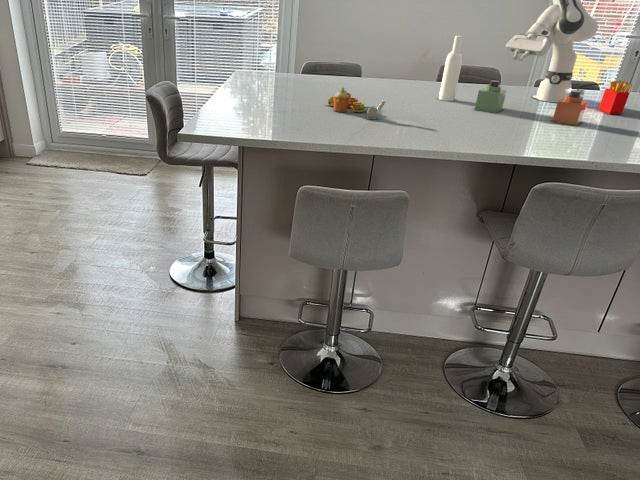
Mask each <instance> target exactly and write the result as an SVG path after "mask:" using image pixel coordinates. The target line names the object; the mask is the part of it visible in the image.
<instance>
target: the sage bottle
mask: <svg viewBox="0 0 640 480" xmlns="http://www.w3.org/2000/svg"><path fill="white" fill-rule="evenodd" d="M489 85H490V84H486V85H485V87H484V88H481V89H478V93H477V97H476V101H475V106H474V108H473V109H474V111H479V112H486V113H491V114H496V113H499V112H500V111H502V110H503V107H504V103H505V99H506V96H507V89H502V88H503V86H502V85H499V86H498V87H492V86H489Z"/></svg>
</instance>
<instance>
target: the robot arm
mask: <svg viewBox="0 0 640 480" xmlns="http://www.w3.org/2000/svg"><path fill="white" fill-rule="evenodd" d="M598 24H599V23H598V21H597V20H596V19H595V18H593V16H591V15H590V14H589V13H588V11H587V10H586V8H585V7H584V5H583V3H582V0H552V4H551V5H550V6H548V7H547V8H546V9H545V10H543V12H542V13H541V14H540V15H539V16H538V18H537V20H536V22H535V23H533V24H532V25H531V26H530V28H528V30H527V32H526V33H518V34H516V35H514V36H513V37H512V38H510V40H508V42H507V43H506V44H505V49H506V51H507V52H509V53H514V55H513V56H512V60H513V61H517V60H518V61H520V62H522V61H523V60H525V59H526V58H528V57H529V56H535V57H536V56H537V57H544V56H545V55H547V53H548V52H549V51H550V50H551V46H552V54H551V59H550V63H549V67H548V69H547V70H546V73H545V78H544V79H543V80H542V81H540V83H539V87H538V89H537V93H536V94H533V95H532V98H534V99H537V100H539V101H543V102H548V103H558V101H559V100H561V99H563V98H565V96H566V95H570V93H571V91H572V87H573V84H572V81H571V80H572V77H573V74H574V72H573V71H574V68H575V64H576V62H577V59H578V58H577V57H578V55H577V53H576V52H575V51H574V43H575V42H577V43H579V42H584V41H588V40H590V39H592V38H593V37H595V35H596V34H597V32H598V28H599V25H598ZM520 54H521V55H520ZM600 85H605V83H604V82H602V83H589V84H583V85H581V86H578V88H577V89H576V91H580V89H581V88H584V87H585V88H586V87H589V86H600Z"/></svg>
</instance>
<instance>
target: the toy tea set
mask: <svg viewBox="0 0 640 480" xmlns="http://www.w3.org/2000/svg"><path fill="white" fill-rule="evenodd" d="M326 105H327V106H330V107H333V111H334V112H337V113H345V112H347V110H348V109H350V111H352V112H354V113H363V112H365V110H366V109H367V105H365V103H364V102H362V101H360V102H359V99H358V98H357V97H352V93H351V92H348V91H347V90H345V87H341V89H340V90H338V91H337V92H336V94H334V95H333V96H329V97H328V99H327V102H326Z"/></svg>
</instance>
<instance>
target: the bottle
mask: <svg viewBox="0 0 640 480" xmlns="http://www.w3.org/2000/svg"><path fill="white" fill-rule="evenodd" d="M463 38H464V36H463V35H455V36H454V39H453V40H454V41H453V46H452V49H451V50H452V51H450V52H449V53H448V54H447V57H446V59H445V63H444V69H443V74H442V79H441V83H440V84H441V85H440V90H439V93H438V100H439V101H444V102H453V101H454V100H455V98H456V93H457V89H458V83H459V78H460V74H461V69H462V64H463V54H462V53H461V48H462V43H463V40H464V39H463Z"/></svg>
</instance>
